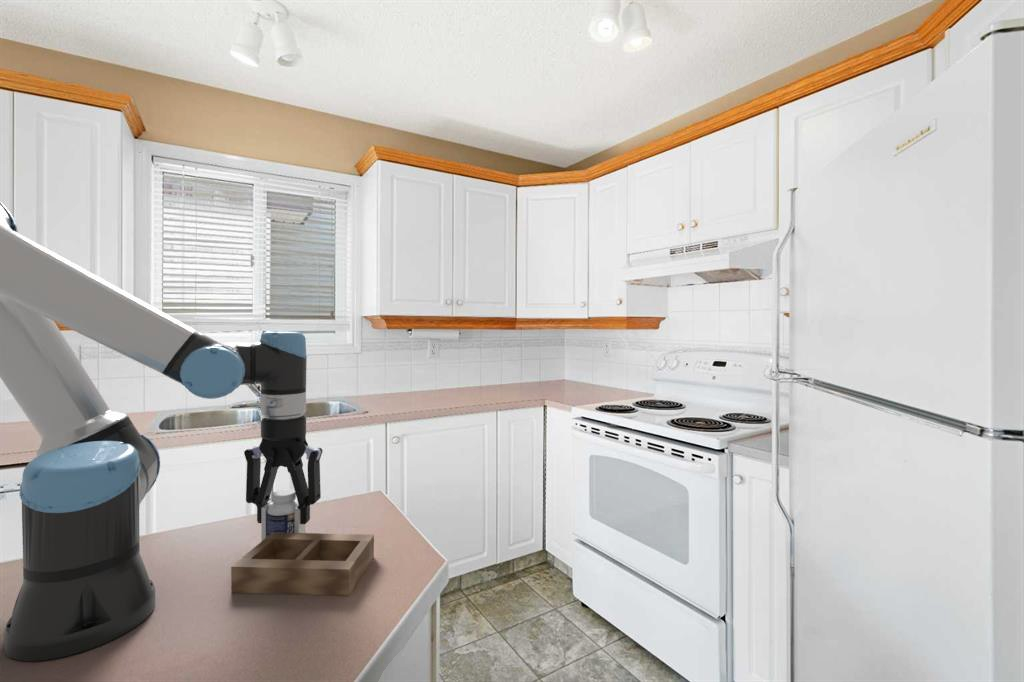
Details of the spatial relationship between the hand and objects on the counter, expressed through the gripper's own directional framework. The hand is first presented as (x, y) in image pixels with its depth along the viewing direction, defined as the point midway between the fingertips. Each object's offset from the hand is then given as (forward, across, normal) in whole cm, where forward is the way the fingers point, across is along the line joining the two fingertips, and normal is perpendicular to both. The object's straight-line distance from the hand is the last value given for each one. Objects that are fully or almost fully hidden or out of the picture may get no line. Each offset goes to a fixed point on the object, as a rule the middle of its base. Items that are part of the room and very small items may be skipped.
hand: (283, 539), depth 88 cm
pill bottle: (+1, 0, 0) cm, 1 cm away
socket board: (+1, +9, -10) cm, 13 cm away
